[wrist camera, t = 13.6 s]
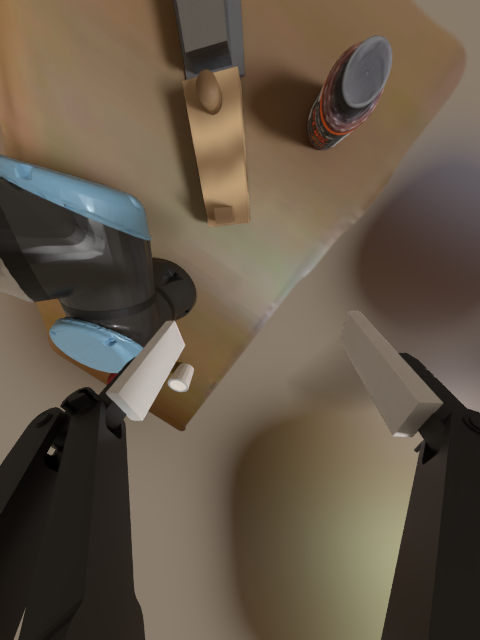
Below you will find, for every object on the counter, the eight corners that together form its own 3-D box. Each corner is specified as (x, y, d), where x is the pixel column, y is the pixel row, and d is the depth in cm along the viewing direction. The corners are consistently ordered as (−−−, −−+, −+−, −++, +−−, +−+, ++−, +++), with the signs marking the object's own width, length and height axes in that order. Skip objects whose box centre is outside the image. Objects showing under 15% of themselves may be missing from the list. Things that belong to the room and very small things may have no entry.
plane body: (250, 220, 32) (246, 224, 26) (215, 224, 33) (202, 229, 27) (241, 88, 23) (233, 42, 17) (194, 99, 25) (168, 60, 18)
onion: (123, 376, 67) (108, 394, 61) (113, 366, 64) (96, 384, 58) (135, 374, 66) (120, 393, 59) (125, 364, 63) (108, 383, 56)
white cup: (174, 370, 61) (165, 387, 55) (179, 359, 57) (170, 376, 52) (192, 377, 62) (184, 394, 57) (198, 367, 59) (191, 384, 53)
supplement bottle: (297, 128, 25) (316, 82, 16) (333, 75, 22) (384, -20, 13) (322, 162, 27) (353, 139, 17) (359, 117, 24) (421, 60, 14)
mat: (189, 89, 24) (188, 88, 24) (164, -53, 19) (163, -58, 18) (244, 75, 23) (244, 73, 23) (235, -82, 17) (235, -88, 17)
